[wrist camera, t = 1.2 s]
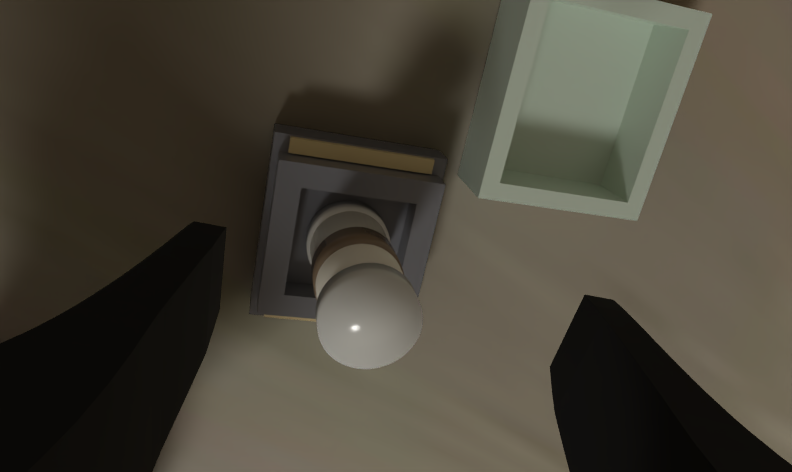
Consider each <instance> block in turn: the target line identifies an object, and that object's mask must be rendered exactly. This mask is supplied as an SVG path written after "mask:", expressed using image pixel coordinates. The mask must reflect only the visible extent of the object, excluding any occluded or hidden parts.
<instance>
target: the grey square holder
mask: <svg viewBox="0 0 792 472" xmlns="http://www.w3.org/2000/svg"><path fill="white" fill-rule="evenodd" d="M447 160H448V159H447V158H446V157H445V156H444V155H443V154H442V153H441V152H440V151H439V150H435V149H429V148H422V147H416V146H410V145H404V144H398V143H392V142H386V141H379V140H373V139H367V138H361V137H355V136H349V135H342V134H336V133H330V132H324V131H318V130H312V129H306V128H299V127H293V126H287V125H281V124H274V131H273V138H272V146H271V153H270V160H269V167H268V174H267V182H266V189H265V196H264V203H263V210H262V218H261V225H260V232H259V239H258V246H257V254H256V261H255V268H254V275H253V282H252V290H251V297H250V312H249V314H254V315H264V317H270V318H282V319H293V320H304V321H316V313H315V309H316V302H317V300H316V297H315V293H314V287H313V280H312V273H311V264H310V262H309V259H308V254H307V248H306V232H307V228H308V226H309V223H310V221H311V220H312V218H313V217H314V216H315V214H316V213H317V212H318V211H320V210H321V209H322V208H323V207H325V206H327V205H329V204H331V203H334V202H337V201H342V200H354V201H359V202H362V203H365V204H367V205H369V206H370V207H372V208H373V209H374V210H375V211H376V212H377V213H378V214H379V215H380V216H381V218H382V220H383V222H384V224H385V226H386V229H387V231H388V233H389V237H390V243H391V245H392V246H393V248H394V250H395V252H396V255H397V257H398V259H399V261H400V264H401V266H402V268H403V272H404V276H405V277H406V278H407V279H408V280H409V281H410V283H411V284H412V286H413V288H414V291H415V293H416V295H417V297H418V296H419V291H420V287H421V283H422V279H423V275H424V271H425V267H426V263H427V259H428V254H429V250H430V246H431V242H432V238H433V234H434V230H435V226H436V222H437V218H438V213H439V209H440V205H441V201H442V197H443V193H444V189H445V185H446V184H445V183H444V182H443V177H444V173H445V169H446V165H447Z"/></svg>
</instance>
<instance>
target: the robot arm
mask: <svg viewBox="0 0 792 472" xmlns="http://www.w3.org/2000/svg"><path fill="white" fill-rule="evenodd" d="M225 239H226V227H221V226H216V225H210V224H205V223H200V222H193V223H191V224H189V225H188V226H187V227H185V228H184V229H183V230H181V231H180V232H179V233H178V234H176V235H175V236H174V237H173V238H172V239H170V240H169V241H168V242H166V243H165V244H164V245H163V246H161V247H160V248H159V249H157V250H156V251H155V252H154V253H152V254H151V255H150V256H148V257H147V258H146V259H144V260H143V261H142V262H140V263H139V264H137V265H136V266H135V267H133V268H132V269H130V270H129V271H128V272H126V273H125V274H124V275H122V276H121V277H119V278H118V279H116V280H115V281H113V282H112V283H110V284H109V285H107V286H106V287H104V288H103V289H101V290H99V291H98V292H96V293H95V294H93V295H92V296H90V297H89V298H87V299H85V300H84V301H82V302H81V303H79V304H77V305H76V306H74V307H72V308H71V309H69V310H67V311H65V312H64V313H62V314H60V315H58V316H56V317H55V318H53V319H51V320H49V321H47V322H45V323H43V324H41V325H39V326H37V327H35V328H33V329H31V330H29V331H27V332H25V333H23V334H21V335H19V336H16V337H14V338H12V339H9V340H7V341H5V342H3V343H0V472H152V471H153V469H154V466H155V464H156V461H157V459H158V457H159V454H160V452H161V449H162V447H163V445H164V443H165V441H166V439H167V437H168V434H169V432H170V430H171V428H172V426H173V424H174V421H175V419H176V417H177V415H178V413H179V411H180V408H181V406H182V404H183V402H184V400H185V398H186V396H187V393H188V391H189V389H190V387H191V385H192V383H193V380H194V378H195V376H196V374H197V372H198V369H199V367H200V365H201V363H202V361H203V358H204V356H205V354H206V351H207V348H208V345H209V341H210V338H211V335H212V332H213V329H214V326H215V322H216V319H217V316H218V313H219V309H220V298H221V286H222V274H223V262H224V250H225ZM550 374H551V385H552V395H553V402H554V410H555V415H556V419H557V424H558V428H559V432H560V436H561V440H562V444H563V448H564V451H565V455H566V459H567V463H568V467H569V471H570V472H792V465H791V464H790V463H788V462H787V461H786V460H784V459H783V458H782V457H780V456H779V455H778V454H777V453H775V452H774V451H773V450H772V449H771V448H769V447H768V446H767V445H766V444H764V443H763V442H762V441H761V440H759V439H758V438H757V437H756V436H755V435H753V434H752V433H751V432H750V431H748V430H747V429H746V428H745V427H744V426H743V425H741V424H740V423H739V422H738V421H737V420H736V419H734V418H733V417H732V416H731V415H730V414H729V413H728V412H727V411H726V410H725V409H723V408H722V407H721V406H720V405H719V404H718V403H717V402H716V401H715V400H714V399H713V398H712V397H710V396H709V395H708V394H707V393H706V392H705V391H704V390H703V389H702V388H701V387H700V386H699V385H698V384H697V383H696V382H695V381H694V380H693V379H692V378H691V377H690V376H689V375H688V374H687V373H686V372H685V371H684V370H683V369H682V368H681V367H680V366H679V365H678V364H677V363H676V362H675V361H674V360H673V359H672V358H671V357H670V356H669V355H668V354H667V353H666V352H665V351H664V350H663V349H662V348H661V347H660V346H659V345H658V344H657V343H656V342H655V341H654V340H653V339H652V337H651V336H650V335H649V334H648V333H647V332H646V331H645V330H644V329H643V328H642V327H641V326H640V325H639V324H638V323H637V322H636V321H635V320H634V319H633V318H632V317H631V316H630V315H629V314H628V313H627V312H626V311H625V310H624V309H623V308H622V307H621V306H620V305H619V304H617V303H616V302H615V301H614V300H611V299H606V298H600V297H595V296H590V295H584V297H583V299H582V301H581V304H580V306H579V308H578V310H577V312H576V314H575V316H574V318H573V320H572V322H571V324H570V326H569V328H568V330H567V332H566V335H565V337H564V339H563V341H562V343H561V345H560V347H559V349H558V351H557V353H556V355H555V357H554V359H553V361H552V363H551V366H550Z"/></svg>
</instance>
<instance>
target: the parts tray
mask: <svg viewBox="0 0 792 472" xmlns="http://www.w3.org/2000/svg"><path fill="white" fill-rule="evenodd" d="M711 17H712V14H711V13H707V12H703V11H698V10H694V9H690V8H686V7H682V6H678V5H674V4H670V3H666V2H662V1H658V0H501V3H500V7H499V11H498V15H497V19H496V23H495V27H494V31H493V35H492V39H491V43H490V47H489V51H488V55H487V59H486V63H485V67H484V71H483V75H482V79H481V83H480V87H479V91H478V95H477V99H476V103H475V107H474V111H473V115H472V119H471V123H470V127H469V131H468V135H467V139H466V143H465V147H464V151H463V155H462V159H461V163H460V167H459V171H458V176H459V177H460V178H461V180H462V181H463V182H464V183H465V184H466V185H467V186H468V187H469V188H470V189H471V191H472V192H473V193H474V194H475V195H476V196H477V197H478V198H483V199H490V200H497V201H503V202H510V203H517V204H524V205H531V206H538V207H545V208H552V209H558V210H565V211H572V212H579V213H586V214H593V215H600V216H607V217H614V218H620V219H627V220H634V221H637V220H638V217H639V215H640V212H641V209H642V206H643V204H644V201H645V198H646V195H647V193H648V190H649V187H650V184H651V182H652V179H653V176H654V173H655V171H656V168H657V165H658V162H659V160H660V157H661V154H662V151H663V149H664V146H665V143H666V140H667V138H668V135H669V132H670V129H671V127H672V124H673V121H674V118H675V116H676V113H677V110H678V107H679V105H680V102H681V99H682V96H683V94H684V91H685V88H686V85H687V83H688V80H689V77H690V74H691V72H692V69H693V66H694V63H695V61H696V58H697V55H698V52H699V50H700V47H701V44H702V41H703V39H704V36H705V33H706V30H707V28H708V25H709V22H710V19H711Z"/></svg>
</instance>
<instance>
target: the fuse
mask: <svg viewBox="0 0 792 472" xmlns="http://www.w3.org/2000/svg"><path fill="white" fill-rule="evenodd" d="M306 248H307V254H308V259H309V262H310V264H311V273H312V280H313V287H314V293H315V297H316V300H317V302H316V309H315V313H316V323H317V330H318V336H319V339H320V342H321V344H322V346H323V348H324V349H325V351H326V352H327V353H328V354H329V355H330V356H331V357H332V358H333V359H335V360H336V361H337V362H339V363H341V364H343V365H346V366H348V367H352V368H358V369H373V368H379V367H383V366H386V365H389V364H391V363H393V362H395V361H397V360H398V359H400V358H401V357H403V356H404V355H405V354H406V353H407V352H408V351H409V350H410V349H411V348H412V347H413V346H414V344H415V343H416V341H417V340H418V337H419V335H420V333H421V330H422V325H423V311H422V307H421V304H420V302H419V300H418V297H417V295H416V293H415V291H414V288H413V286H412V284H411V283H410V281H409V280H408V279H407V278H406V277H405V276H404V272H403V268H402V266H401V264H400V261H399V259H398V257H397V255H396V252H395V250H394V248H393V246H392V245H391V243H390V237H389V233H388V231H387V229H386V226H385V224H384V222H383V220H382V218H381V216H380V215H379V214H378V213H377V212H376V211H375V210H374V209H373V208H372V207H370V206H369V205H367V204H365V203H362V202H359V201H354V200H342V201H337V202H334V203H331V204H329V205H327V206H325V207H323V208H322V209H321V210H320V211H318V212H317V213H316V214H315V216H314V217H313V218H312V220H311V221H310V223H309V226H308V228H307V232H306Z"/></svg>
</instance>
